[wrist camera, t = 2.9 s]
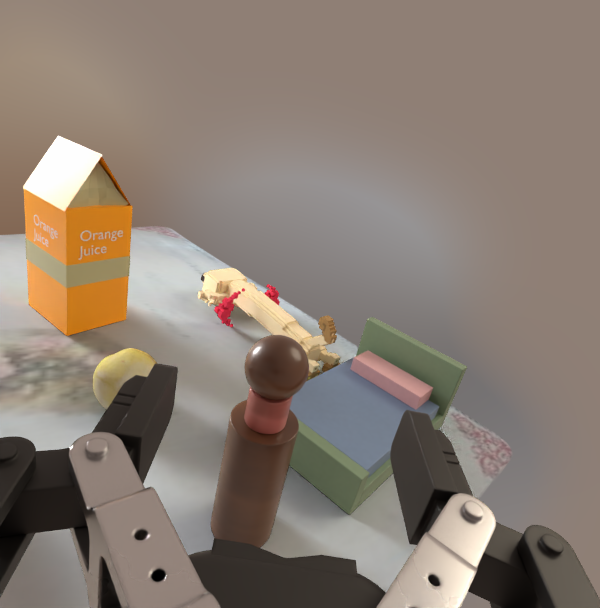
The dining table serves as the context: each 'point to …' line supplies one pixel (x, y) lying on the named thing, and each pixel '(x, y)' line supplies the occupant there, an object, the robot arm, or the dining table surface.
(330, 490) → the bed
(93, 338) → the dining table surface
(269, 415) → the skittle
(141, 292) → the dining table surface
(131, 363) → the fruit
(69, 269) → the orange juice
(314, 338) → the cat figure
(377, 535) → the dining table surface
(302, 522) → the dining table surface
